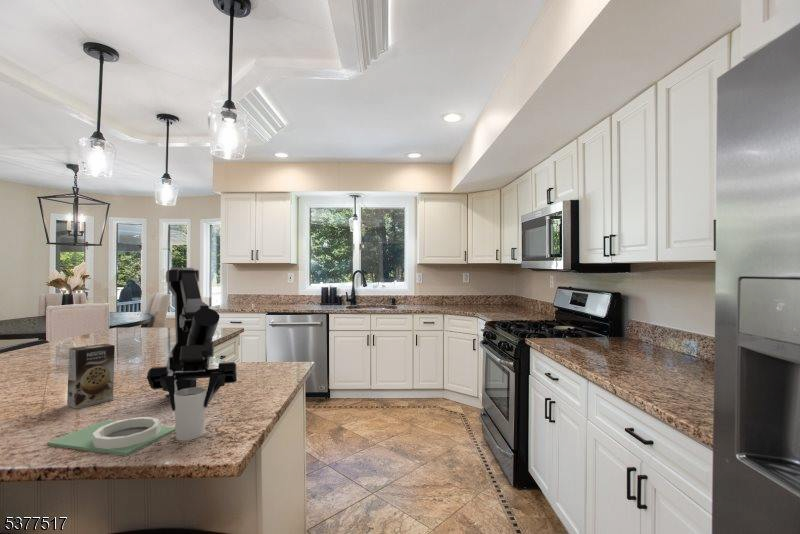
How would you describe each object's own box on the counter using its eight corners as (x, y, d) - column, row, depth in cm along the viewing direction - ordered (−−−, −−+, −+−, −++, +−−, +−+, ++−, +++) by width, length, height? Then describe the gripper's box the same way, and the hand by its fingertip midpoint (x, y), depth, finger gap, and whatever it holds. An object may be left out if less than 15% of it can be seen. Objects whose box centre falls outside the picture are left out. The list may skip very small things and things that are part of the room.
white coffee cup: (192, 442, 83) (193, 396, 84) (166, 440, 85) (166, 395, 85) (212, 430, 90) (213, 387, 90) (187, 428, 91) (188, 386, 91)
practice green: (47, 445, 82) (47, 433, 82) (105, 422, 94) (105, 411, 94) (126, 455, 77) (126, 443, 77) (177, 430, 90) (177, 419, 90)
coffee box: (75, 409, 103) (76, 350, 103) (66, 405, 106) (67, 347, 107) (114, 400, 111) (115, 344, 111) (105, 396, 114) (106, 342, 114)
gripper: (149, 332, 88) (133, 394, 78) (236, 329, 94) (232, 386, 84) (158, 359, 96) (144, 419, 85) (238, 354, 102) (234, 409, 91)
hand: (189, 408), depth 86 cm, fingers closed on white coffee cup, 6 cm apart
